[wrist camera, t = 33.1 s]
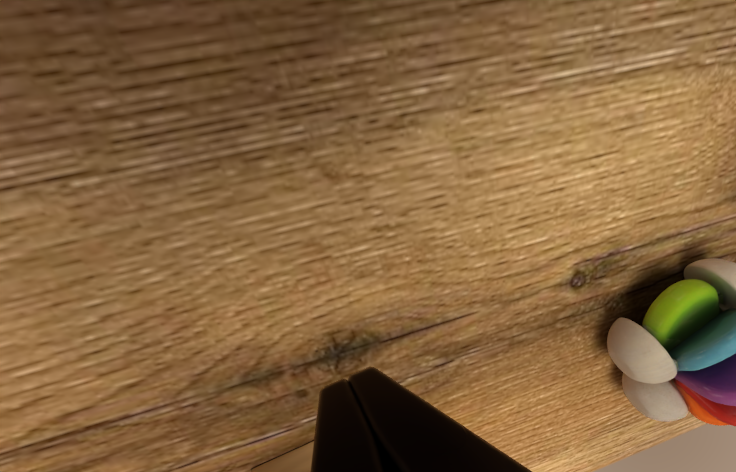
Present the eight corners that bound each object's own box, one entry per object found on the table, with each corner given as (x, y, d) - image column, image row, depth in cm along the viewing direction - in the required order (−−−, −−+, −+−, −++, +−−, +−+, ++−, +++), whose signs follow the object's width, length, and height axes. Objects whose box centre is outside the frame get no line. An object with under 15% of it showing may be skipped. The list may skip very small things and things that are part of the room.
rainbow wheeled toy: (619, 405, 34) (720, 498, 27) (582, 312, 29) (696, 402, 22) (720, 330, 34) (843, 405, 28) (702, 226, 29) (846, 290, 23)
